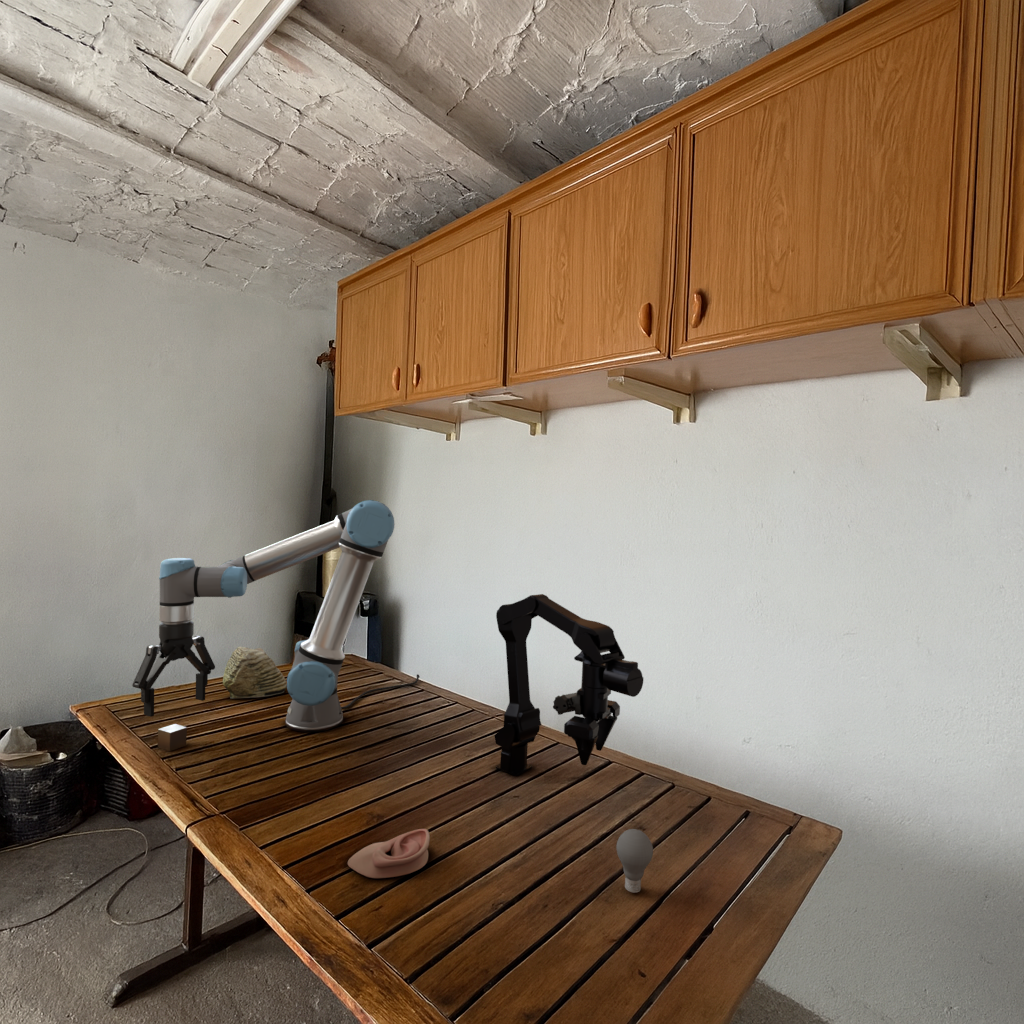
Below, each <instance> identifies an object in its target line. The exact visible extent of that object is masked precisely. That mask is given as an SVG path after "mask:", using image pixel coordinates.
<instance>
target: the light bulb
mask: <svg viewBox="0 0 1024 1024" xmlns="http://www.w3.org/2000/svg"><path fill="white" fill-rule="evenodd" d="M615 849H616V854H617V857H618V859H619V861H620V863H621V865H622V867H623V873H624V874H623V875H624V876H625V878H624V888H625V890H627V891H628V892H630V893H634V894H635V893H639V892H640V891H641V889H642V887H641V886H642V879H643V877H644V875H645V871H646V868H647V867H648V866H649V864H650V863H651V861H652V859H653V855H654V847H653V843H652V841H651V838H649V836H648V835H647V834H646V833H645V832H643V831H642V830H641V829H636V828H629V829H627V830H625V831H623V832H622V833H621V834H620V835H619V837H618V839H617V841H616V847H615Z"/></svg>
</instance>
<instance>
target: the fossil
mask: <svg viewBox="0 0 1024 1024" xmlns="http://www.w3.org/2000/svg"><path fill="white" fill-rule="evenodd" d="M222 676H223V677H222V685H223V687H224V688H225V690H226V691H228V693H229V698H230V699H250V698H264V697H271V696H275V695H281V694H284V693H285V691H286V689H287V679H286V678H285V676H284V674H283V673H282V672H281V669H279V668H278V667H277V665H276V663H275V662H274V660H273V659H272V658H271V657H270V656H269V655H268V654H267V653H266V652H265V650H264V649H263V648H260V647H258V648H251V647H247V646H246V647H245V646H238V647H237V648H236V649H235V650H233V651H232V653H231V656H230V657H229V659H228V660H227V663H226V666H225V668H224V671H223V675H222Z"/></svg>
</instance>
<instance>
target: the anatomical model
mask: <svg viewBox="0 0 1024 1024" xmlns="http://www.w3.org/2000/svg"><path fill="white" fill-rule="evenodd" d="M430 838H431V836H430V831H429V830H428V829H426V828H419V829H418V828H417V829H414V830H411V831H407V832H404V833H402V834H400V835H397V836H395V837H393V838H391V839H389V840H385V841H379V842H373V843H372V844H369V845H367V846H365V847H363V848H361V849H360V850H358V851H357V852H356V853H354V854H353V855H352V856H351V857H350V858H349V859H348V861H347V866H348V867H349V868H350V869H352V870H353V871H355V872H356V873H358V874H360V875H362V876H364V877H366V878H370V879H386V878H394V877H395V878H396V877H401V876H405V875H409V874H411V873H414V872H416V871H418V870H420V869H422V868H423V867H425V866H426V864H427V863H428V861H429V850H428V848H429V846H430V840H431V839H430Z"/></svg>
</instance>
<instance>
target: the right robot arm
mask: <svg viewBox="0 0 1024 1024" xmlns="http://www.w3.org/2000/svg"><path fill="white" fill-rule="evenodd" d="M495 617H496V623H497V628H498V632H499V634H500V635H501V637H502V638H503V640H504V642H505V654H506V668H507V669H506V671H507V683H508V685H507V686H508V699H509V700H508V704H507V707H506V710H505V711H504V713H503V714H504V715H503V726H502V727H501V728H500V729H499V730H498V731H497V732H496V733H494V736H493V737H494V742H495V745H497V746H499V747H501V749H500V750H501V751H500V760H499V764H497V765H495V769H496V770H499V771H502V772H504V773H507V774H508V775H511V776H514V777H517V776H519V775H521V774H523V773H525V772H527V771H529V770H531V769H532V768H533V765H531V764H528V750H529V749H528V748H529V746H528V744H529V743H533V742H534V741H535V740H536V736H537V735H538V733H540V728H541V726H542V722H541V710H540V708H539V707H535V706H534V704H533V703H532V701H531V692H530V679H529V664H528V662H529V661H528V650H527V649H528V647H527V639H528V636H529V634H530V632H531V629H532V623H533V622H532V621H533V619H534V618H536V617H540V618H541V619H542V620H544V621H545V622H547V623H548V624H550V625H552V626H553V627H555V628H557V629H558V630H560V631H562V632H563V633H565V634H566V635H567V636H569V637H570V638H571V640H572V642H573V644H574V646H576V647H577V648H578V650H580V653H578V654H576V656H574V658H573V659H574V661H577V662H580V663H582V664H581V665H582V667H581V687H580V688H578V689H577V691H576V692H572V693H567V694H562V695H557V696H556V697H554V700H553V706H552V708H553V710H555V711H556V712H557V715H559V716H561V715H563V714H565V713H566V714H567V713H572V712H574V716H572V717H571V718H570V719H568V721H566V722H565V723H564V725H563V734H565V735H567V737H569V738H572V740H573V741H574V743H575V745H576V749H577V753H578V757H579V761H580V764H581V766H587V765H588V764H589V760H590V758H591V755H592V753H593V750H594V748H595V750H596V751H600V752H601V751H602V750H603V748H604V746H605V744H606V742H607V739H608V738H609V735H610V733H611V732H612V730H613V728H614V726H615V724H616V722H617V720H618V717H619V716H620V714H621V706H620V704H619V703H618V701H615V700H610V699H609V696H610V695H611V694H612V692H615V693H619V694H622V695H625V696H629V697H633V698H635V697H637V696H638V695H639V694H640V692H641V691H642V688H643V685H644V676H643V673H642V671H641V669H639V662H637V661H633V660H626V659H625V655H624V653H623V650H622V649H621V647H620V644H619V642H618V641H617V639H616V636H615V631H614V630H613V629H612V627H611V626H610V625H607V624H605V623H601V622H599V621H596V620H595V621H594V620H589V619H586V618H583V617H581V616H579V615H578V614H575V613H574V612H572V611H570V610H569V609H568V608H566V607H565V606H563V605H560V604H559V603H558V602H556V601H554V600H553V599H551V598H549V597H548V595H546V594H543V593H541V594H540V593H539V594H531V595H529V596H527V597H525V598H523V599H520V600H518V601H515V602H513V603H506V604H501V605H500V606H499V608H498V609H497V610H496V614H495ZM607 652H608V653H607Z"/></svg>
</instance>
